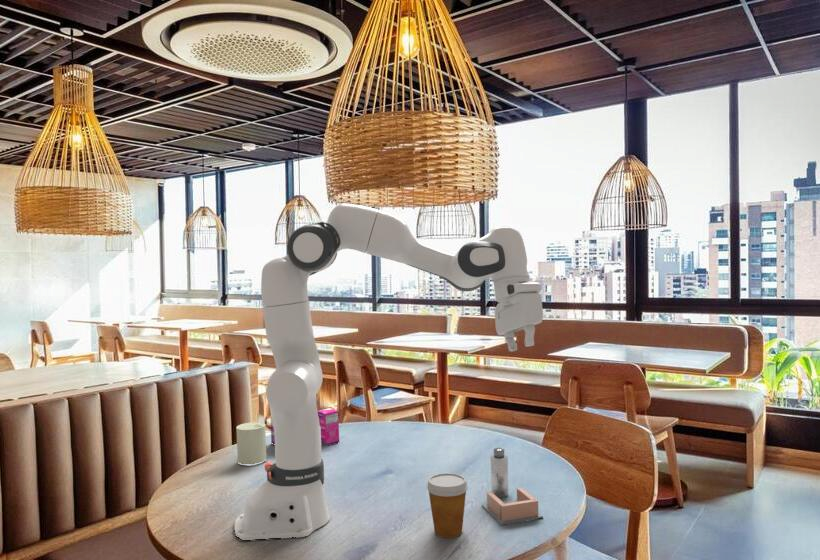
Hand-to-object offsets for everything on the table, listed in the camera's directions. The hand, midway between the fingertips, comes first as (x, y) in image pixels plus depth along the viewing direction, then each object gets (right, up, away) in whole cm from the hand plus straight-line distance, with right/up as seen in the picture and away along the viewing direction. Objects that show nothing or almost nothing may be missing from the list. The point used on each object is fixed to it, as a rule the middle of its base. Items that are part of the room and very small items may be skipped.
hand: (521, 348), depth 135 cm
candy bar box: (-70, -42, +62) cm, 103 cm away
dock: (-2, -41, +4) cm, 41 cm away
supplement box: (-55, -41, +64) cm, 94 cm away
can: (-77, -42, +46) cm, 100 cm away
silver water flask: (-3, -40, +15) cm, 43 cm away
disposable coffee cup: (-18, -41, -6) cm, 45 cm away
